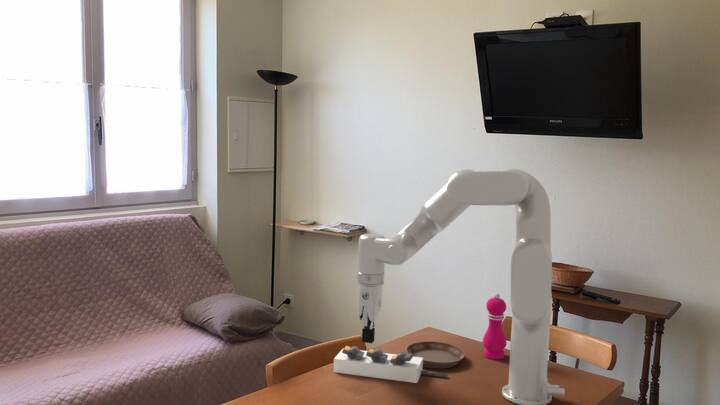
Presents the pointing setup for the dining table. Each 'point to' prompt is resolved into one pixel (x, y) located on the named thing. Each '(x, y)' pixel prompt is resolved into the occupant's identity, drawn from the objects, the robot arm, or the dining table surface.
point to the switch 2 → (401, 358)
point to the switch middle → (377, 355)
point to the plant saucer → (436, 354)
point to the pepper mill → (495, 329)
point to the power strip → (383, 368)
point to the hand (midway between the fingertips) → (368, 341)
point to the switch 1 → (353, 352)
